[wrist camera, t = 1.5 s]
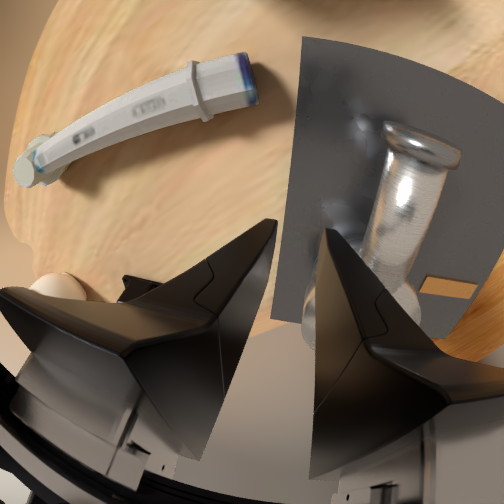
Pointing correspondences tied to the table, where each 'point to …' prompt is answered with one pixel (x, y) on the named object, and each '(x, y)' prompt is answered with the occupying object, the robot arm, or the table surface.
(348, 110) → the cutting board
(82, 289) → the lidded jar
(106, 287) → the table surface
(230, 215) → the table surface
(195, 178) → the table surface
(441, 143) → the dryer elbow
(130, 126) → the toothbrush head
